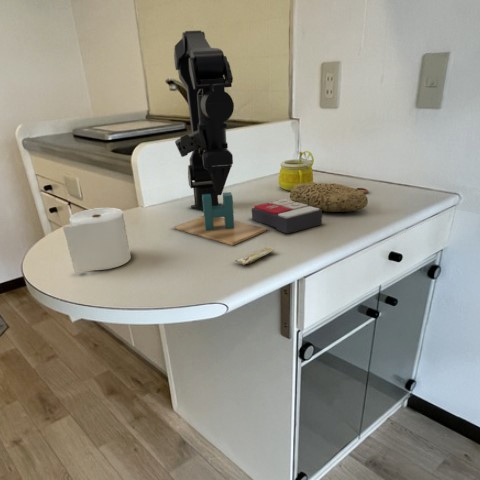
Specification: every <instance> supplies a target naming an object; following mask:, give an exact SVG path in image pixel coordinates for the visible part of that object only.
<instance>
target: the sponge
mask: <svg viewBox="0 0 480 480" xmlns="http://www.w3.org/2000/svg"><path fill="white" fill-rule="evenodd" d="M289 198H290V201H294V202H298V203H302V204H306V205H308V206H311V207H315V208H319V209H320V210H322V212H330V213H345V212H346V213H347V212H353V211H358V210H362V209H365V208H366V207H367V206H368V204H369V201H368V200H369V199H368V196H367V194H366V193H364V192H363V190H358V189H357V188H354V187H351V186H347V185H343V184H337V183H328V182H323V183H316V182H314V181H313V182H311V184H309V183H305V184H304V183H302V184H298V185H295V187H294V188H293V189H291V191H290V193H289Z"/></svg>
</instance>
